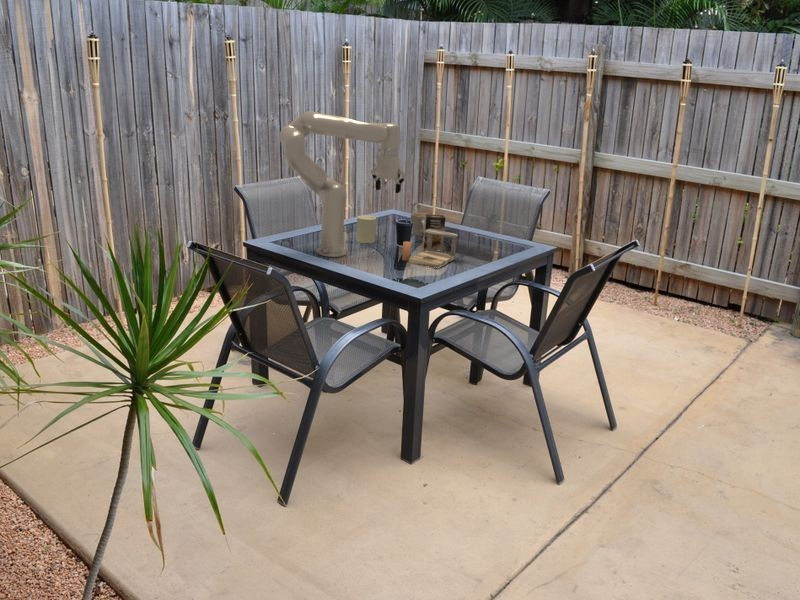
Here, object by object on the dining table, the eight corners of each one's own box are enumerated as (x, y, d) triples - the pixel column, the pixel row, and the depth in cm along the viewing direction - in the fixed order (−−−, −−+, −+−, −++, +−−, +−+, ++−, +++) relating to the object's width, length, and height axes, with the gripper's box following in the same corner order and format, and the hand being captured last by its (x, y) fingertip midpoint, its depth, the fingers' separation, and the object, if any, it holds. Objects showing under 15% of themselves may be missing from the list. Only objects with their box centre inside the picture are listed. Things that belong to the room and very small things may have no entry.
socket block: (437, 269, 313) (440, 242, 309) (408, 262, 319) (410, 236, 315) (455, 260, 328) (457, 234, 324) (427, 254, 334) (429, 228, 330)
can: (374, 244, 344) (376, 219, 340) (355, 242, 344) (356, 217, 340) (375, 239, 352) (377, 214, 348) (356, 237, 352) (357, 213, 348)
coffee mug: (408, 231, 372) (410, 211, 369) (428, 232, 373) (429, 213, 370) (410, 237, 360) (411, 218, 356) (430, 239, 360) (432, 219, 357)
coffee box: (423, 250, 339) (426, 216, 333) (421, 247, 345) (424, 213, 339) (442, 251, 340) (445, 217, 334) (440, 248, 346) (443, 214, 340)
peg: (407, 261, 320) (408, 243, 318) (400, 260, 322) (402, 242, 319) (411, 259, 323) (412, 242, 321) (404, 258, 325) (405, 240, 322)
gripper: (367, 151, 319) (366, 190, 324) (403, 155, 312) (401, 195, 318) (375, 149, 325) (374, 187, 331) (411, 153, 318) (409, 192, 324)
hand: (387, 191), depth 324 cm, fingers open, 9 cm apart
